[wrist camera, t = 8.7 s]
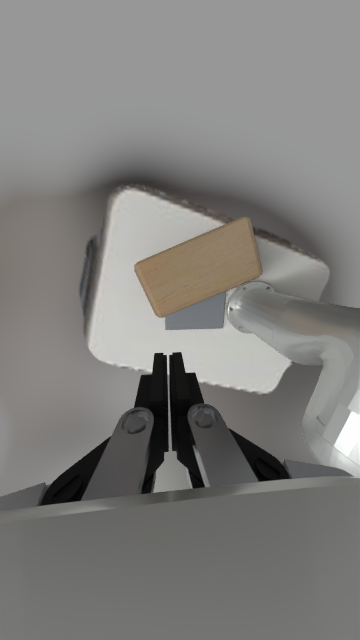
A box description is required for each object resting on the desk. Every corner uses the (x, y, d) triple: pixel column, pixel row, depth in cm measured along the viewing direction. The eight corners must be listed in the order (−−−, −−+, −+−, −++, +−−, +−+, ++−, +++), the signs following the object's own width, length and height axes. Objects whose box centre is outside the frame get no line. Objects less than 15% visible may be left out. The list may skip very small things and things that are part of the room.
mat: (227, 259, 37) (228, 259, 37) (222, 327, 42) (222, 328, 41) (163, 259, 36) (163, 258, 35) (165, 329, 41) (165, 329, 40)
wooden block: (159, 308, 38) (240, 273, 38) (157, 321, 29) (266, 275, 28) (139, 265, 35) (227, 227, 35) (130, 264, 26) (252, 212, 25)
